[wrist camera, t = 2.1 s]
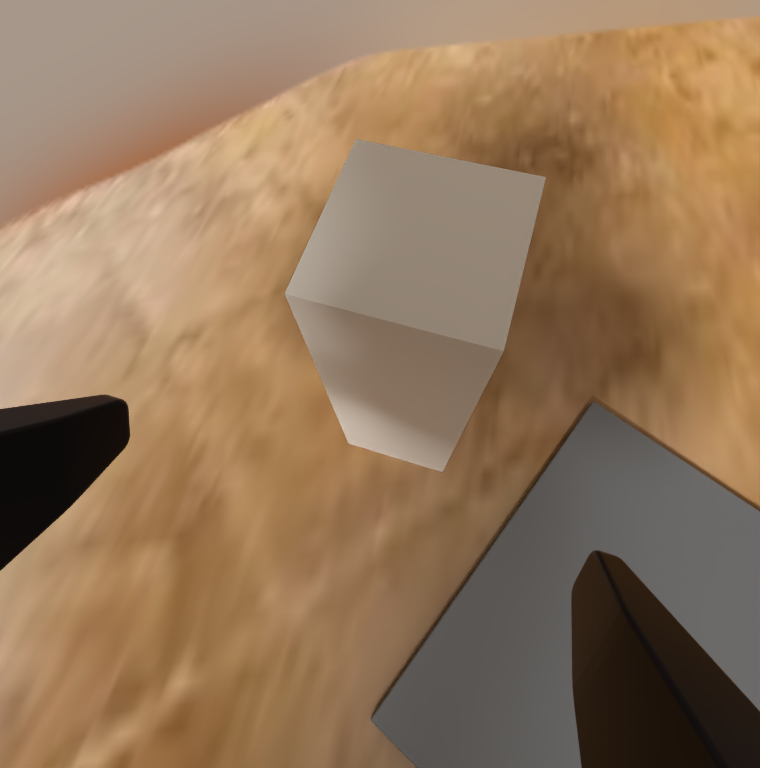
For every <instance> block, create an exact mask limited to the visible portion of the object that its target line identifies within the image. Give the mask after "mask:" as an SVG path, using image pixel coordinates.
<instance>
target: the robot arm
mask: <svg viewBox="0 0 760 768" xmlns="http://www.w3.org/2000/svg"><path fill="white" fill-rule="evenodd" d="M129 438H130V426H129V410H128V405H127V403H126V402H125V401H124V400H122V399H119V398H116V397H113V396H110V395H97V396H90V397H83V398H76V399H69V400H62V401H55V402H47V403H40V404H33V405H26V406H19V407H12V408H5V409H0V571H1V570H2V569H3V568H4V567H5V566H6V565H7V564H8V563H9V562H11V561H12V560H13V559H14V558H15V557H16V556H17V555H18V554H19V553H20V552H22V551H23V550H24V549H25V548H26V547H27V546H28V545H29V544H30V543H31V542H33V541H34V540H35V539H36V538H37V537H38V536H39V535H40V534H41V533H42V532H44V531H45V530H46V529H47V528H48V527H49V526H50V525H51V524H52V523H53V522H55V521H56V520H57V519H58V518H59V517H60V516H61V515H62V514H63V513H64V512H65V511H66V510H67V509H68V508H70V507H71V506H72V505H73V503H74V502H75V501H76V500H77V499H78V498H79V497H80V496H81V495H82V494H83V493H84V492H85V491H86V490H87V489H88V488H89V486H90V485H91V484H92V483H93V482H94V481H95V480H96V479H97V478H98V477H99V476H100V474H101V473H102V472H103V471H104V470H105V469H106V468H107V467H108V466H109V465H110V464H111V463H112V461H113V460H114V459H115V458H116V457H117V456H118V455H119V454H120V453H121V452H122V451H123V449H124V448H125V447H126V445H127V444H128V441H129ZM571 627H572V688H573V699H574V709H575V717H576V726H577V734H578V742H579V751H580V759H581V767H582V768H760V711H759V709H758V708H757V707H756V706H755V705H754V704H753V703H752V702H751V701H750V700H749V698H748V697H747V696H746V695H745V694H744V693H743V692H742V691H741V690H740V689H739V687H738V686H737V685H736V684H735V683H734V682H733V681H732V680H731V679H730V678H729V676H728V675H727V674H726V673H725V672H724V671H723V670H722V669H721V668H720V667H719V665H718V664H717V663H716V662H715V661H714V660H713V659H712V658H711V657H710V656H709V654H708V653H707V652H706V651H705V650H704V649H703V648H702V647H701V646H700V645H699V643H698V642H697V641H696V640H695V639H694V638H693V637H692V636H691V635H690V634H689V632H688V631H687V630H686V629H685V628H684V627H683V626H682V625H681V624H680V623H679V621H678V620H677V619H676V618H675V617H674V616H673V615H672V614H671V613H670V612H669V611H668V609H667V608H666V607H665V606H664V605H663V604H662V603H661V602H660V601H659V600H658V598H657V597H656V596H655V595H654V594H653V593H652V592H651V591H650V590H649V589H648V587H647V586H646V585H645V584H644V583H643V582H642V581H641V580H640V579H639V578H638V576H637V575H636V574H635V573H634V572H633V571H632V570H631V569H630V568H629V567H628V565H627V564H626V563H625V562H624V561H623V560H622V559H621V558H619V557H618V556H615V555H612V554H609V553H605V552H602V551H599V550H595V551H592V552H591V553H590V554H589V556H588V558H587V559H586V561H585V563H584V565H583V567H582V569H581V571H580V573H579V575H578V576H577V578H576V580H575V582H574V585H573V588H572V594H571Z"/></svg>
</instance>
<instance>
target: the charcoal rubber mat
mask: <svg viewBox="0 0 760 768" xmlns="http://www.w3.org/2000/svg"><path fill="white" fill-rule="evenodd" d="M595 550H599V551H602V552H605V553H609V554H612V555H615V556H618V557H619V558H621V559H622V560H623V561H624V562H625V563H626V564H627V565H628V567H629V568H630V569H631V570H632V571H633V572H634V573H635V574H636V575H637V576H638V578H639V579H640V580H641V581H642V582H643V583H644V584H645V585H646V586H647V587H648V589H649V590H650V591H651V592H652V593H653V594H654V595H655V596H656V597H657V598H658V600H659V601H660V602H661V603H662V604H663V605H664V606H665V607H666V608H667V609H668V611H669V612H670V613H671V614H672V615H673V616H674V617H675V618H676V619H677V620H678V621H679V623H680V624H681V625H682V626H683V627H684V628H685V629H686V630H687V631H688V632H689V634H690V635H691V636H692V637H693V638H694V639H695V640H696V641H697V642H698V643H699V645H700V646H701V647H702V648H703V649H704V650H705V651H706V652H707V653H708V654H709V656H710V657H711V658H712V659H713V660H714V661H715V662H716V663H717V664H718V665H719V667H720V668H721V669H722V670H723V671H724V672H725V673H726V674H727V675H728V676H729V678H730V679H731V680H732V681H733V682H734V683H735V684H736V685H737V686H738V687H739V689H740V690H741V691H742V692H743V693H744V694H745V695H746V696H747V697H748V698H749V700H750V701H751V702H752V703H753V704H754V705H755V706H756V707H757V708H758V709H759V711H760V511H758V510H757V509H755V508H754V507H752V506H751V505H749V504H748V503H746V502H745V501H743V500H742V499H740V498H739V497H737V496H736V495H734V494H733V493H731V492H730V491H728V490H727V489H725V488H724V487H722V486H721V485H719V484H718V483H716V482H715V481H713V480H712V479H710V478H709V477H707V476H705V475H704V474H702V473H701V472H699V471H698V470H696V469H695V468H693V467H692V466H690V465H689V464H687V463H686V462H684V461H683V460H681V459H680V458H678V457H677V456H675V455H674V454H672V453H671V452H669V451H668V450H666V449H665V448H663V447H662V446H660V445H659V444H657V443H656V442H654V441H653V440H651V439H650V438H648V437H647V436H645V435H644V434H642V433H641V432H639V431H638V430H636V429H635V428H633V427H632V426H630V425H629V424H627V423H626V422H624V421H623V420H621V419H620V418H618V417H617V416H615V415H614V414H612V413H611V412H609V411H607V410H606V409H604V408H603V407H601V406H600V405H598V404H597V403H595V402H593V403H591V404H590V405H589V407H588V408H587V410H586V411H585V413H584V414H583V415H582V417H581V418H580V420H579V421H578V423H577V424H576V425H575V427H574V428H573V430H572V431H571V433H570V434H569V435H568V437H567V438H566V440H565V441H564V443H563V444H562V445H561V447H560V448H559V450H558V451H557V453H556V454H555V455H554V457H553V458H552V460H551V461H550V463H549V464H548V465H547V467H546V468H545V470H544V471H543V473H542V474H541V475H540V477H539V478H538V480H537V481H536V483H535V484H534V485H533V487H532V488H531V490H530V491H529V493H528V494H527V495H526V497H525V498H524V500H523V501H522V503H521V504H520V505H519V507H518V508H517V510H516V511H515V513H514V514H513V515H512V517H511V518H510V520H509V521H508V523H507V524H506V525H505V527H504V528H503V530H502V531H501V533H500V534H499V535H498V537H497V538H496V540H495V541H494V543H493V544H492V545H491V547H490V548H489V550H488V551H487V553H486V554H485V555H484V557H483V558H482V560H481V561H480V563H479V564H478V565H477V567H476V568H475V570H474V571H473V573H472V574H471V575H470V577H469V578H468V580H467V581H466V583H465V584H464V585H463V587H462V588H461V590H460V591H459V593H458V594H457V595H456V597H455V598H454V600H453V601H452V603H451V604H450V605H449V607H448V608H447V610H446V611H445V613H444V614H443V615H442V617H441V618H440V620H439V621H438V623H437V624H436V625H435V627H434V628H433V630H432V631H431V633H430V634H429V635H428V637H427V638H426V640H425V641H424V643H423V644H422V645H421V647H420V648H419V650H418V651H417V653H416V654H415V655H414V657H413V658H412V660H411V661H410V663H409V664H408V665H407V667H406V668H405V670H404V671H403V673H402V674H401V675H400V677H399V678H398V680H397V681H396V683H395V684H394V685H393V687H392V688H391V690H390V691H389V693H388V694H387V695H386V697H385V698H384V700H383V701H382V703H381V704H380V705H379V707H378V708H377V710H376V711H375V713H374V714H373V715H372V717H371V721H372V722H373V723H374V724H375V725H376V726H377V727H378V728H379V729H380V730H381V731H382V732H383V733H384V734H385V735H386V736H387V737H388V738H389V739H390V740H391V741H392V742H393V743H394V744H395V745H396V747H397V748H398V749H399V750H400V751H401V752H402V753H403V754H404V755H405V756H406V757H407V758H408V759H409V760H410V761H411V762H412V763H413V764H414V765H415V766H416V767H417V768H582V767H581V759H580V751H579V742H578V734H577V726H576V717H575V709H574V699H573V688H572V627H571V594H572V588H573V585H574V582H575V580H576V578H577V576H578V575H579V573H580V571H581V569H582V567H583V565H584V563H585V561H586V559H587V558H588V556H589V554H590V553H591V552H592V551H595Z"/></svg>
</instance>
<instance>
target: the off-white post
mask: <svg viewBox="0 0 760 768" xmlns="http://www.w3.org/2000/svg"><path fill="white" fill-rule="evenodd" d="M545 180H546V177H543V176H538V175H533V174H528V173H523V172H518V171H513V170H508V169H503V168H498V167H493V166H488V165H483V164H478V163H473V162H468V161H463V160H458V159H453V158H448V157H443V156H438V155H433V154H428V153H423V152H418V151H413V150H408V149H403V148H399V147H394V146H389V145H384V144H379V143H374V142H369V141H364V140H359V139H356V140H355V142H354V144H353V147H352V149H351V151H350V153H349V155H348V157H347V160H346V162H345V164H344V166H343V168H342V170H341V173H340V175H339V177H338V179H337V181H336V183H335V186H334V188H333V190H332V192H331V194H330V197H329V199H328V201H327V203H326V205H325V207H324V210H323V212H322V214H321V216H320V218H319V220H318V223H317V225H316V227H315V229H314V231H313V233H312V236H311V238H310V240H309V242H308V244H307V246H306V249H305V251H304V253H303V255H302V257H301V259H300V262H299V264H298V266H297V268H296V270H295V273H294V275H293V277H292V279H291V281H290V283H289V286H288V288H287V290H286V292H285V296H286V298H287V301H288V303H289V305H290V308H291V310H292V312H293V315H294V317H295V319H296V322H297V324H298V326H299V329H300V331H301V333H302V336H303V338H304V340H305V343H306V345H307V347H308V350H309V352H310V355H311V357H312V359H313V362H314V364H315V366H316V369H317V371H318V373H319V376H320V378H321V380H322V383H323V385H324V387H325V390H326V392H327V394H328V397H329V399H330V401H331V404H332V406H333V408H334V411H335V413H336V415H337V418H338V420H339V422H340V425H341V427H342V429H343V432H344V434H345V436H346V439H347V441H348V443H349V444H352V445H355V446H359V447H362V448H365V449H368V450H372V451H375V452H378V453H381V454H385V455H388V456H391V457H394V458H398V459H401V460H404V461H407V462H411V463H414V464H417V465H420V466H424V467H427V468H430V469H433V470H437V471H440V472H443V470H444V468H445V466H446V464H447V462H448V460H449V458H450V456H451V454H452V452H453V450H454V448H455V447H456V445H457V443H458V441H459V439H460V437H461V435H462V433H463V431H464V429H465V427H466V425H467V423H468V421H469V419H470V417H471V415H472V413H473V411H474V409H475V407H476V405H477V403H478V401H479V399H480V397H481V395H482V393H483V391H484V389H485V387H486V386H487V384H488V382H489V380H490V378H491V376H492V374H493V372H494V370H495V368H496V366H497V364H498V362H499V360H500V358H501V356H502V354H503V352H504V349H505V345H506V341H507V336H508V332H509V328H510V324H511V320H512V316H513V312H514V308H515V303H516V299H517V295H518V291H519V287H520V283H521V279H522V275H523V270H524V266H525V262H526V258H527V254H528V250H529V246H530V241H531V237H532V233H533V229H534V225H535V221H536V217H537V213H538V208H539V204H540V200H541V196H542V192H543V188H544V184H545Z"/></svg>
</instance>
